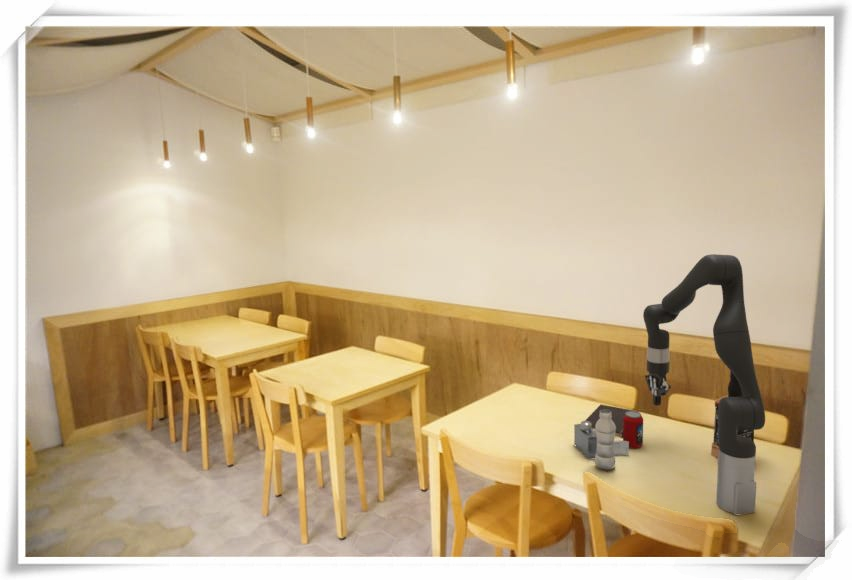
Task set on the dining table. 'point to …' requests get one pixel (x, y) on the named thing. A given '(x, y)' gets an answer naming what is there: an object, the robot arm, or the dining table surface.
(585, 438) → the motor housing
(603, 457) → the plastic bottle
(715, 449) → the whiskey bottle
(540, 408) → the dining table surface
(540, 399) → the dining table surface
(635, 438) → the beverage can
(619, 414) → the hardcover book
